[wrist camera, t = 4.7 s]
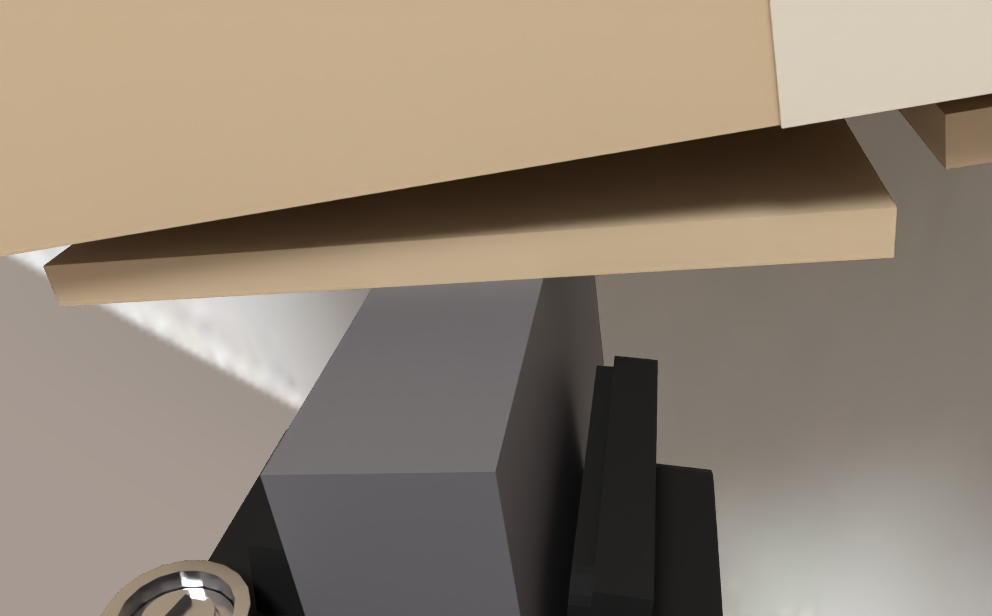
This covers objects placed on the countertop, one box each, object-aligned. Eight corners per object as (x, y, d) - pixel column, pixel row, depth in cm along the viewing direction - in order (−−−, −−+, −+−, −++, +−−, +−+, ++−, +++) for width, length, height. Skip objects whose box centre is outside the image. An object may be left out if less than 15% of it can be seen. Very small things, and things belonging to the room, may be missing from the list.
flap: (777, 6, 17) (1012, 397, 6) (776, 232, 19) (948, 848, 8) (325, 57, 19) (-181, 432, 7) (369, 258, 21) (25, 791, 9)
